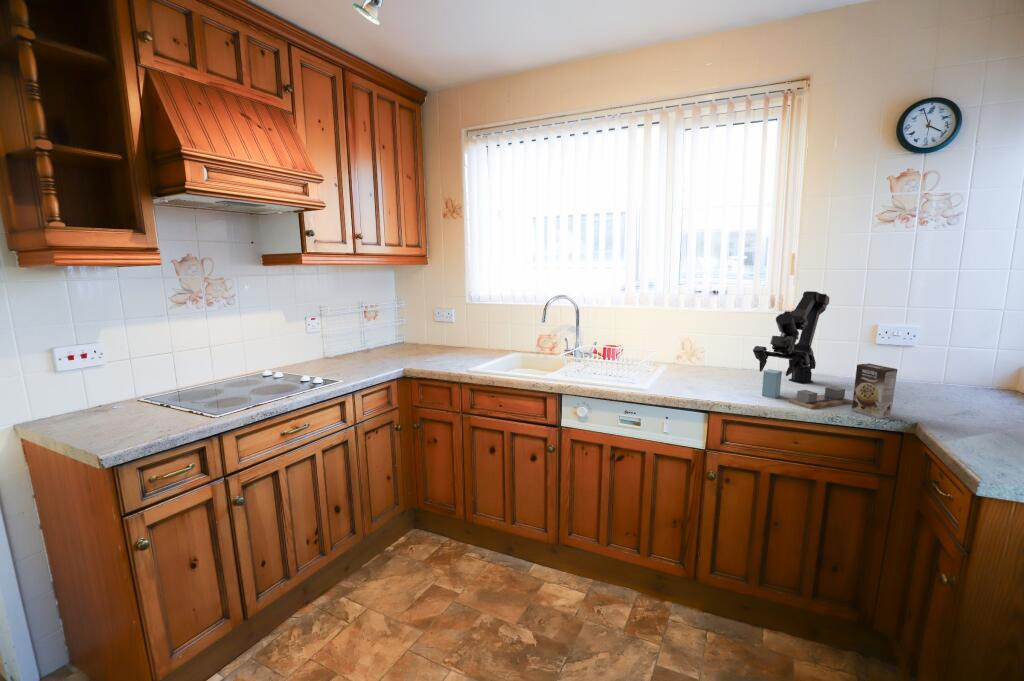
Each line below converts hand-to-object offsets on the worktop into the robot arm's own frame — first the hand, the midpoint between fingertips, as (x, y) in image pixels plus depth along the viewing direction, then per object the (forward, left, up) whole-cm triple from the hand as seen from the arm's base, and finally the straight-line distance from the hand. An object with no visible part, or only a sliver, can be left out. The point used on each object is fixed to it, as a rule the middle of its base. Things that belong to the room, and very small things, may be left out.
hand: (773, 373), depth 180 cm
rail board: (+13, +9, -9) cm, 18 cm away
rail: (+13, +9, -9) cm, 18 cm away
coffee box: (+28, +13, -9) cm, 32 cm away
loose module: (0, 0, -9) cm, 9 cm away
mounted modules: (+13, +9, -7) cm, 17 cm away
